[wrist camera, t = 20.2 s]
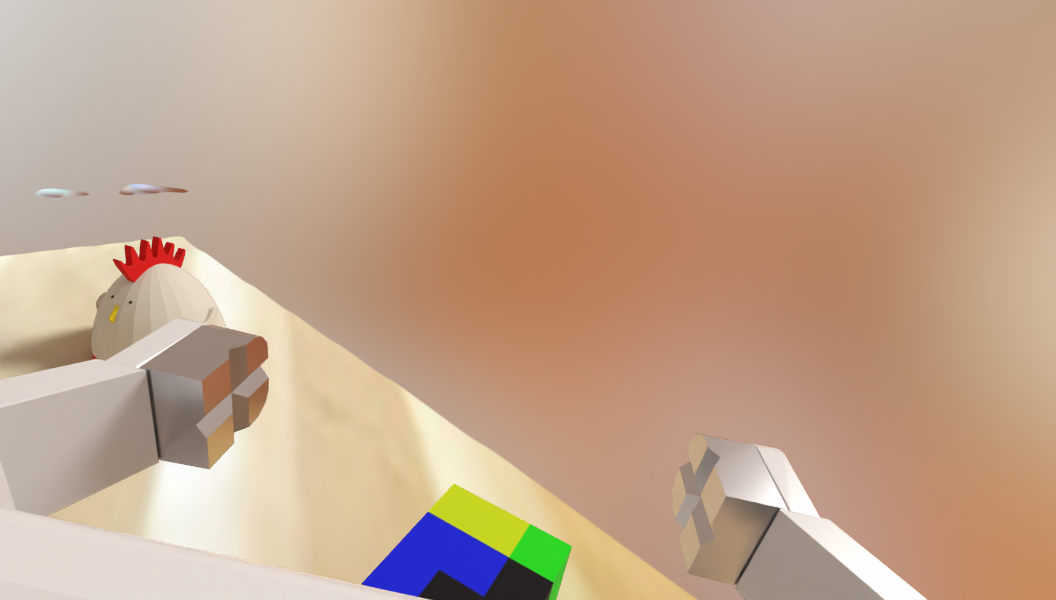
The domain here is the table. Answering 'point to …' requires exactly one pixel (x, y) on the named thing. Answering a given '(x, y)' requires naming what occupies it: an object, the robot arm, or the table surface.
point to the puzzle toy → (473, 555)
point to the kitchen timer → (149, 299)
